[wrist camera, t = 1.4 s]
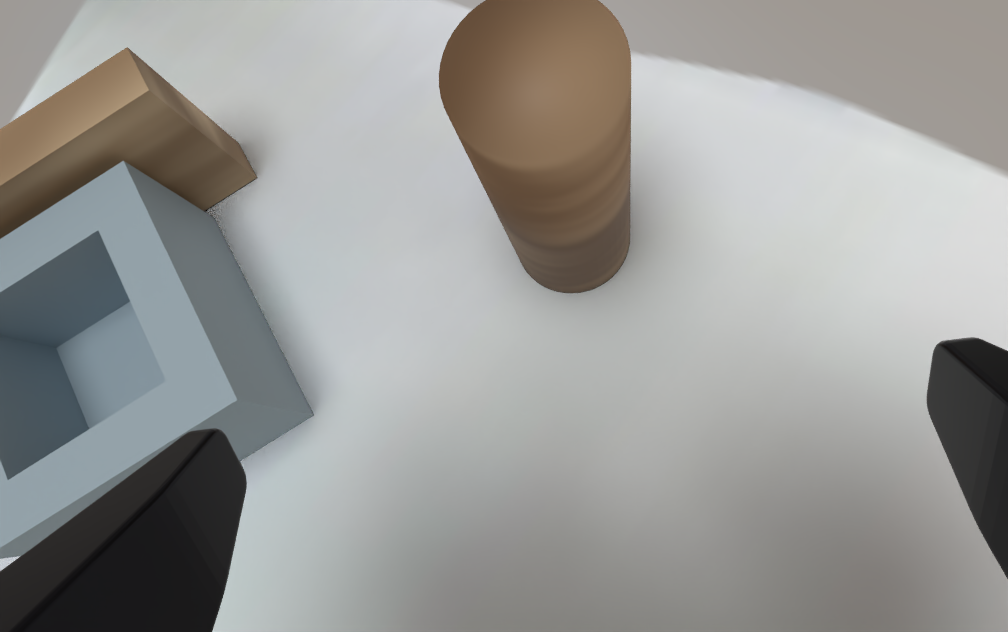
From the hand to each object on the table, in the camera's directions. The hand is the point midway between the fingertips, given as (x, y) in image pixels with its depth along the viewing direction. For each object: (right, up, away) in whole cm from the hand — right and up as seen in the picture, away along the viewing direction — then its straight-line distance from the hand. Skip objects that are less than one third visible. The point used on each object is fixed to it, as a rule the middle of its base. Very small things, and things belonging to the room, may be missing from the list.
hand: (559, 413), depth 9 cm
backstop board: (-15, +4, +17) cm, 23 cm away
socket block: (-12, -1, +16) cm, 20 cm away
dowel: (+2, +4, +14) cm, 15 cm away
